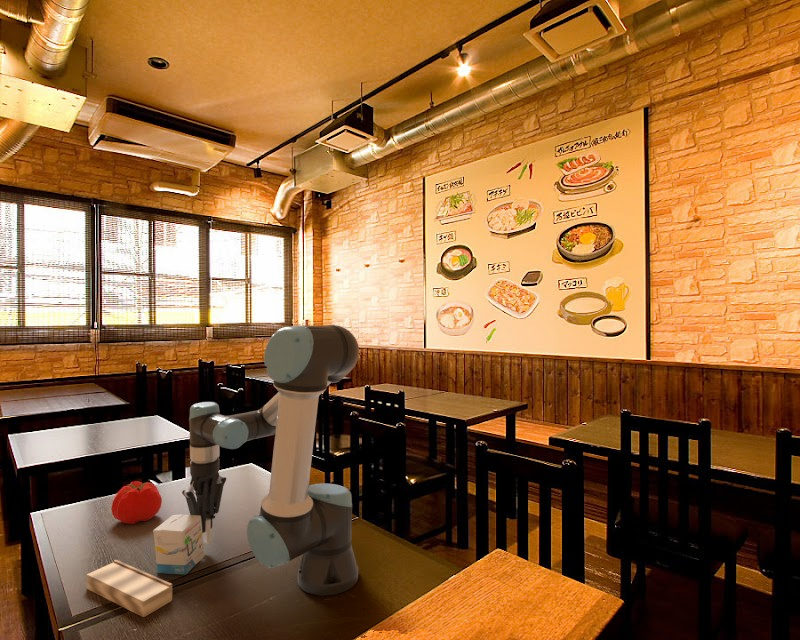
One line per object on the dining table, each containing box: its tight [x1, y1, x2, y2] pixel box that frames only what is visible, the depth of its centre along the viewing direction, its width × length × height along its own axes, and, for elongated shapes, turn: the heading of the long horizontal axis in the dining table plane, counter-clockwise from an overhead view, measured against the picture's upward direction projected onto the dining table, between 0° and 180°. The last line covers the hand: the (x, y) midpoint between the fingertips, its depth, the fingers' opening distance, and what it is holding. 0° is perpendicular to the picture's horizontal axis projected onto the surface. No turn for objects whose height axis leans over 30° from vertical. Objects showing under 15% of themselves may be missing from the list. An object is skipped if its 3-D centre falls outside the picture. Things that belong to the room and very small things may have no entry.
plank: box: [86, 559, 173, 618], centre depth 112 cm, size 22×7×4 cm, turn 62°
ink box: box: [152, 513, 205, 575], centre depth 124 cm, size 9×8×12 cm
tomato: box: [110, 480, 163, 525], centre depth 152 cm, size 13×14×12 cm
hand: (205, 541), depth 132 cm, fingers closed
